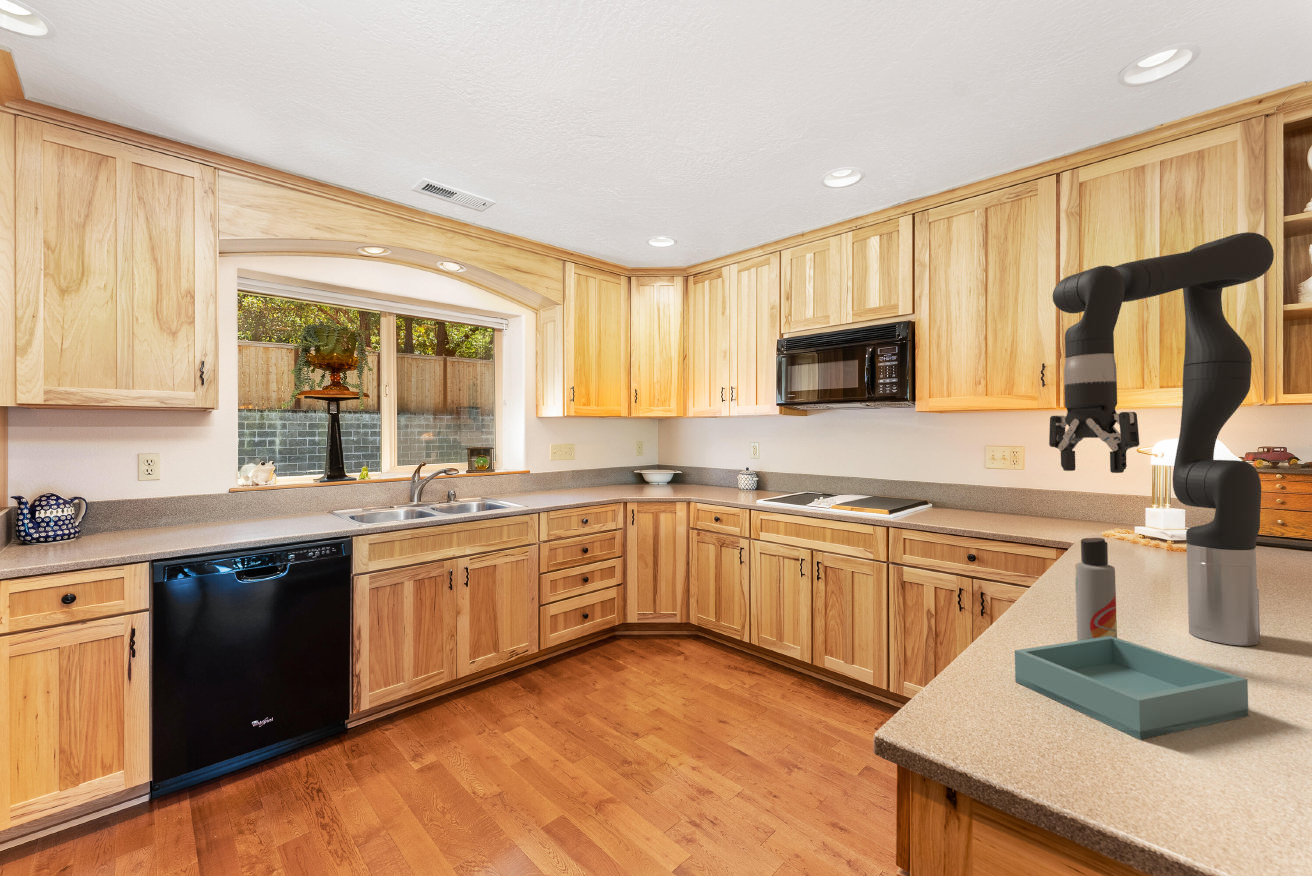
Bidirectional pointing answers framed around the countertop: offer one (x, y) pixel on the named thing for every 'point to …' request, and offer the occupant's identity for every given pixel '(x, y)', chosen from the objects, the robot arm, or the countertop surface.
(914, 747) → the countertop surface
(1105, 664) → the tray
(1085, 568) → the lotion bottle
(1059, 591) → the countertop surface
